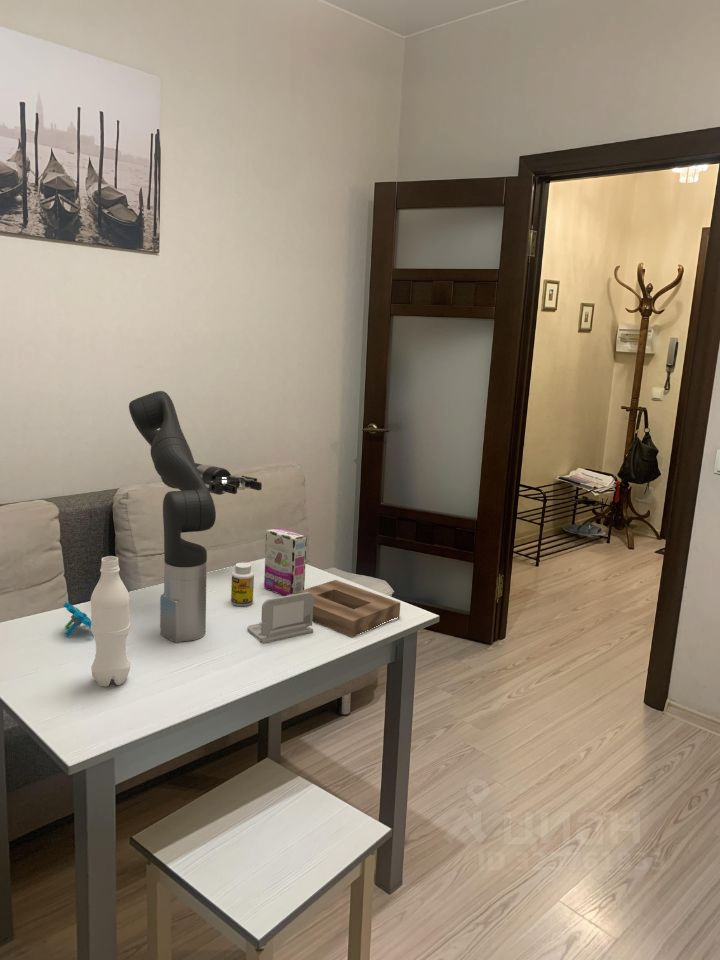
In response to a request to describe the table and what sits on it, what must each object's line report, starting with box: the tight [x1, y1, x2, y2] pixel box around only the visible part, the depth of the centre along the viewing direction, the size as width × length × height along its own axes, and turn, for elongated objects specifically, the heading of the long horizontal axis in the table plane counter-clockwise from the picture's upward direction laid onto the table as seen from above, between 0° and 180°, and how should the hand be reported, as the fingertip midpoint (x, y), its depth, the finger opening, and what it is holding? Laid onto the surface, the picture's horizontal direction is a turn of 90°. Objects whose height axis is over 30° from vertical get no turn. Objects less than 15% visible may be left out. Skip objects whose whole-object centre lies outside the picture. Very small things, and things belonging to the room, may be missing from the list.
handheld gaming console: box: [246, 592, 314, 644], centre depth 171 cm, size 13×9×10 cm
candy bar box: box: [263, 527, 308, 596], centre depth 196 cm, size 11×5×16 cm, turn 49°
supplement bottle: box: [230, 562, 255, 607], centre depth 187 cm, size 6×6×10 cm
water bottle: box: [89, 555, 131, 688], centre depth 142 cm, size 7×7×25 cm
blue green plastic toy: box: [62, 601, 91, 637], centre depth 164 cm, size 11×6×10 cm
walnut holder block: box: [287, 579, 401, 638], centre depth 184 cm, size 18×22×4 cm
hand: (248, 488), depth 199 cm, fingers open, 8 cm apart
